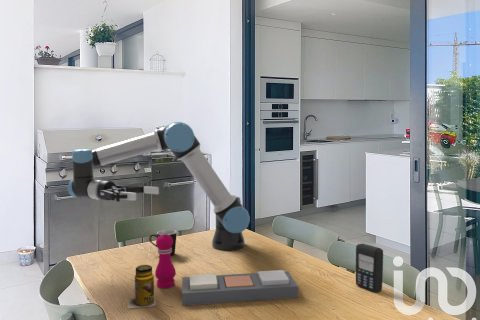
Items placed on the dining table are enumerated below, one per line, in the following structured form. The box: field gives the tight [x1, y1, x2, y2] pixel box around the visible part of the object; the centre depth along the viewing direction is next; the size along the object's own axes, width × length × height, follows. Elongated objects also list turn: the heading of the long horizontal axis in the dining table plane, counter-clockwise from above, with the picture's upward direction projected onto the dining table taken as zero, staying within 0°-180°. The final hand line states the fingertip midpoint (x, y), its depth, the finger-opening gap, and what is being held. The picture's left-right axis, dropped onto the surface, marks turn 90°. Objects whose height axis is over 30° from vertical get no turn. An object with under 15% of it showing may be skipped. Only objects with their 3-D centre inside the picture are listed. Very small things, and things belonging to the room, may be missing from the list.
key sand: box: [189, 273, 218, 290], centre depth 145 cm, size 9×9×3 cm
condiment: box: [128, 264, 157, 309], centre depth 140 cm, size 7×8×12 cm
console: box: [181, 270, 299, 306], centre depth 147 cm, size 14×38×4 cm, turn 97°
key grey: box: [257, 269, 289, 286], centre depth 148 cm, size 9×9×3 cm
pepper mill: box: [154, 229, 176, 289], centre depth 154 cm, size 7×7×20 cm
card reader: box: [355, 243, 384, 293], centre depth 149 cm, size 9×4×15 cm, turn 37°
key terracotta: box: [224, 275, 254, 288], centre depth 147 cm, size 9×9×3 cm
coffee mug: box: [148, 229, 178, 257], centre depth 190 cm, size 12×9×10 cm
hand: (147, 193), depth 159 cm, fingers open, 13 cm apart
